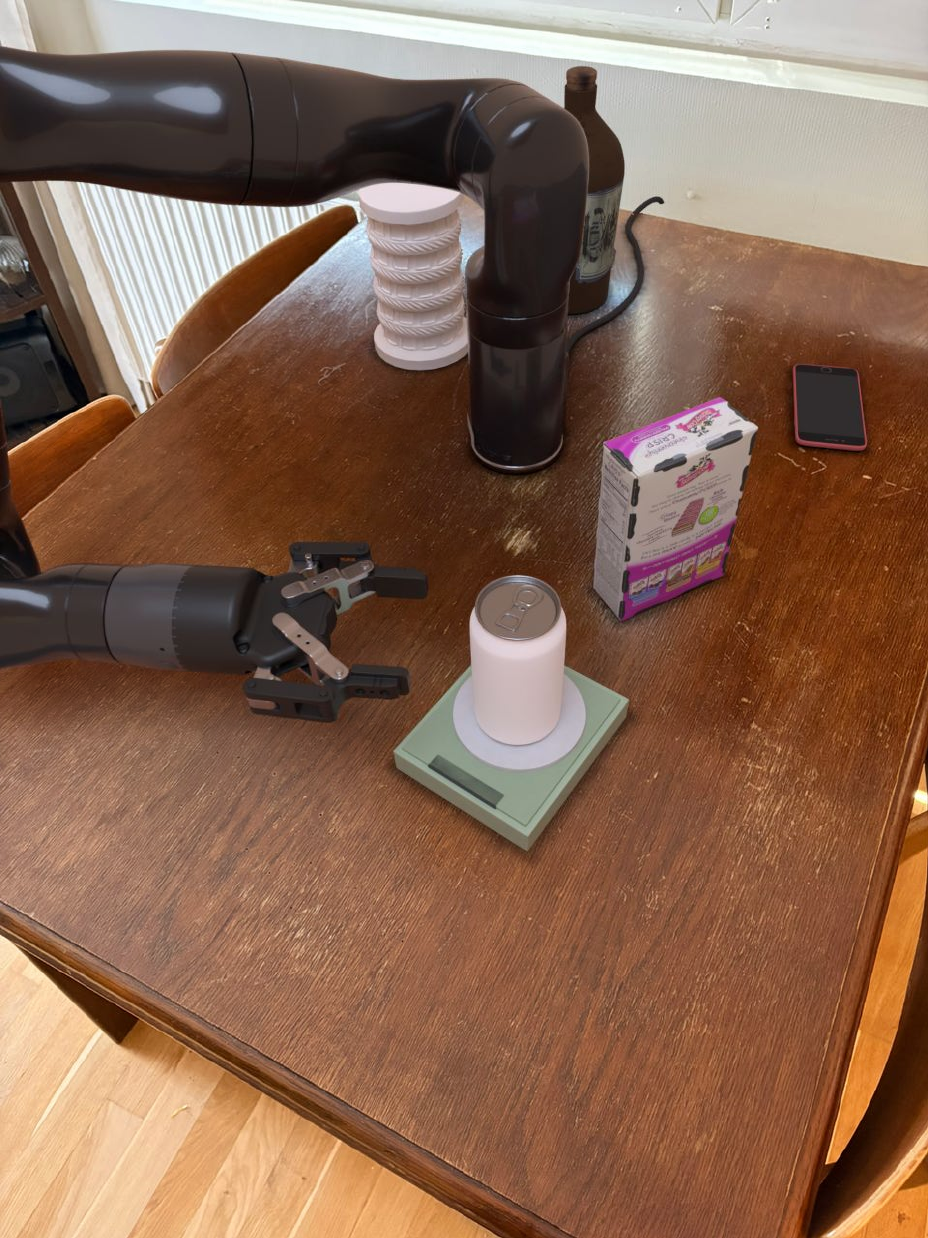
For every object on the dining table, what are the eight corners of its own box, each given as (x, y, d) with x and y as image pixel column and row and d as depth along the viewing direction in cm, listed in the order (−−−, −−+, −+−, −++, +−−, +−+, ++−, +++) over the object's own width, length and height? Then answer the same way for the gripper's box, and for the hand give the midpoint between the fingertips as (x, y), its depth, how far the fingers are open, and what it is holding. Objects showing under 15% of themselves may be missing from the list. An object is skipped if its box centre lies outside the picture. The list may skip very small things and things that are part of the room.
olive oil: (509, 296, 112) (508, 73, 93) (566, 264, 116) (576, 45, 97) (573, 328, 106) (587, 98, 87) (630, 293, 111) (655, 67, 92)
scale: (500, 649, 75) (500, 624, 73) (626, 717, 70) (630, 693, 68) (395, 768, 68) (391, 745, 66) (527, 852, 63) (527, 831, 61)
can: (575, 698, 68) (585, 591, 59) (534, 762, 64) (538, 659, 55) (501, 665, 70) (499, 557, 61) (457, 725, 67) (449, 620, 57)
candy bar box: (690, 543, 82) (721, 392, 70) (724, 577, 79) (763, 427, 67) (587, 587, 79) (600, 438, 67) (618, 624, 76) (639, 476, 64)
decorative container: (355, 342, 106) (331, 189, 93) (429, 305, 111) (417, 153, 98) (418, 382, 101) (403, 225, 87) (493, 341, 105) (490, 185, 92)
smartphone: (859, 367, 98) (868, 448, 89) (857, 372, 98) (867, 452, 89) (792, 362, 99) (795, 441, 90) (791, 366, 99) (794, 445, 90)
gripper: (138, 665, 55) (397, 682, 54) (206, 509, 65) (429, 519, 63) (173, 732, 61) (408, 749, 59) (231, 580, 70) (435, 591, 69)
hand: (418, 631), depth 61 cm, fingers open, 8 cm apart
